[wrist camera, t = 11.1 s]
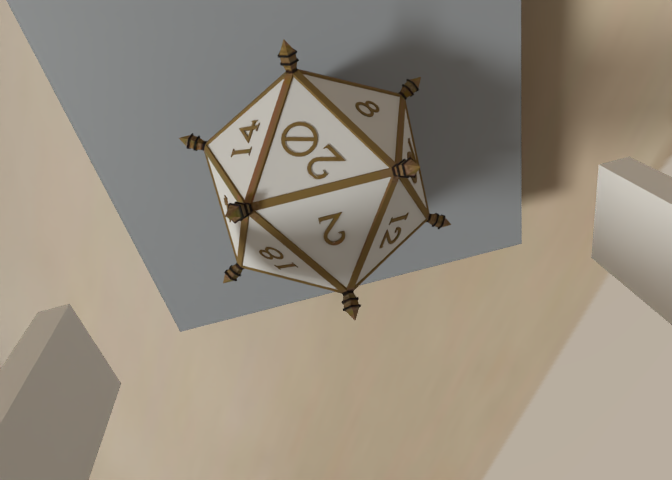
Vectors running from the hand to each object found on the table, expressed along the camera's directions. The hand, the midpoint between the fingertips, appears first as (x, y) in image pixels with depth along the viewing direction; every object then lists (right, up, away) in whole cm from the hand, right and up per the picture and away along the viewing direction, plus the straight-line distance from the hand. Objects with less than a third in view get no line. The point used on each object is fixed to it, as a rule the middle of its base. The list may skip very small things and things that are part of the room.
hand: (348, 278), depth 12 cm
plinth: (-2, +8, +12) cm, 15 cm away
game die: (-1, +5, +8) cm, 10 cm away
